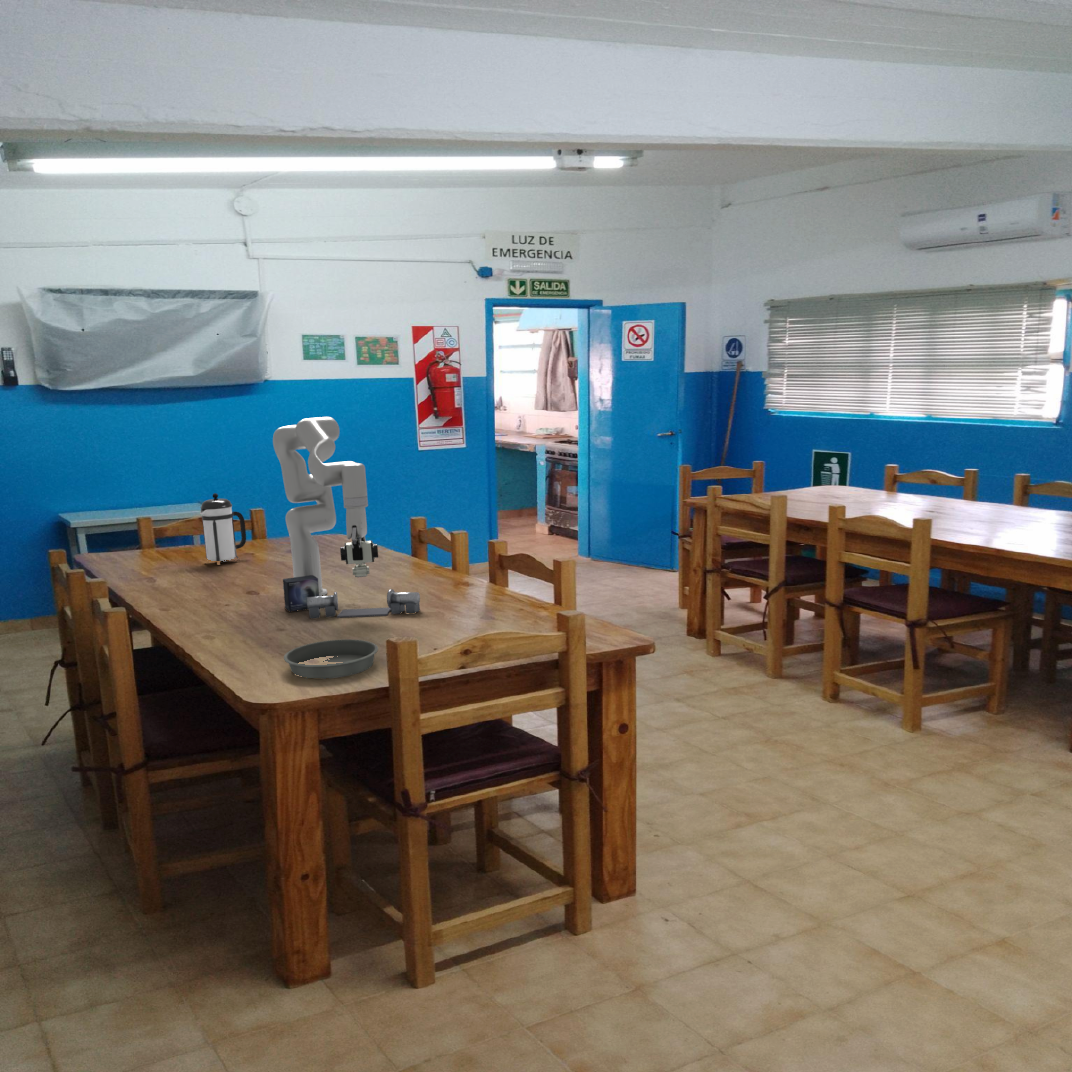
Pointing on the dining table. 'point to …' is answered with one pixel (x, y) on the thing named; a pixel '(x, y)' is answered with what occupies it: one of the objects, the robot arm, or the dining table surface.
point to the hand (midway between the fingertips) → (360, 557)
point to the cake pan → (348, 651)
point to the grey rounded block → (403, 601)
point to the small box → (299, 591)
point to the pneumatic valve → (368, 556)
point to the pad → (364, 612)
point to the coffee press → (220, 529)
